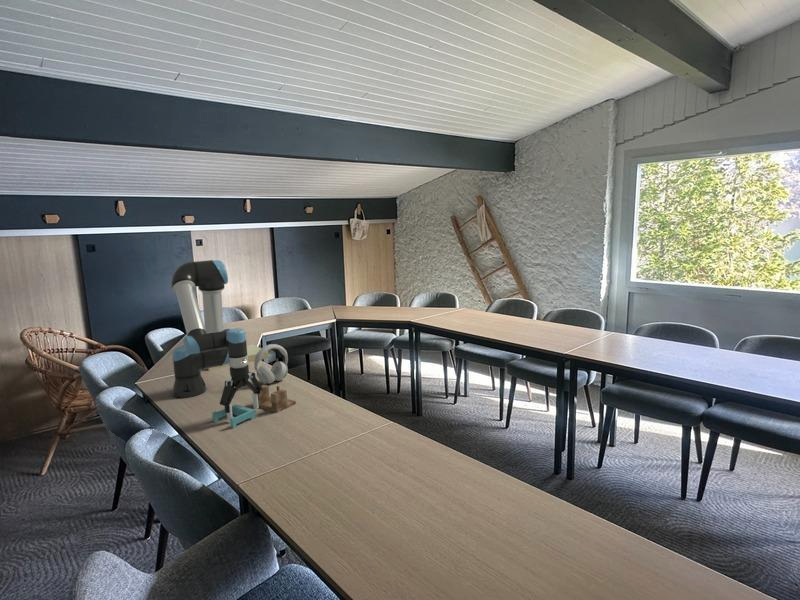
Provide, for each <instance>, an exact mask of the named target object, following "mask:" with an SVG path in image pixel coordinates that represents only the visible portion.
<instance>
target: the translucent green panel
mask: <svg viewBox="0 0 800 600" xmlns="http://www.w3.org/2000/svg"><path fill="white" fill-rule="evenodd" d="M262 348H263V347H259V346H257V345H255V344H250V345H249V344H248V345H247V355H248V363H250V362H255V361H254V360H255V357H256V355H257V353H258V352H259V350H260V349H262ZM265 359H269V350H268V351H267V352H266V353H265V354H264V355H263V356H262V358H261V360H265ZM228 367H230V366H229V364H226V365H222V366H218V367H212V368H207V369H208V371H209V370H210V371H214V370H219V369H222V368H228Z"/></svg>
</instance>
